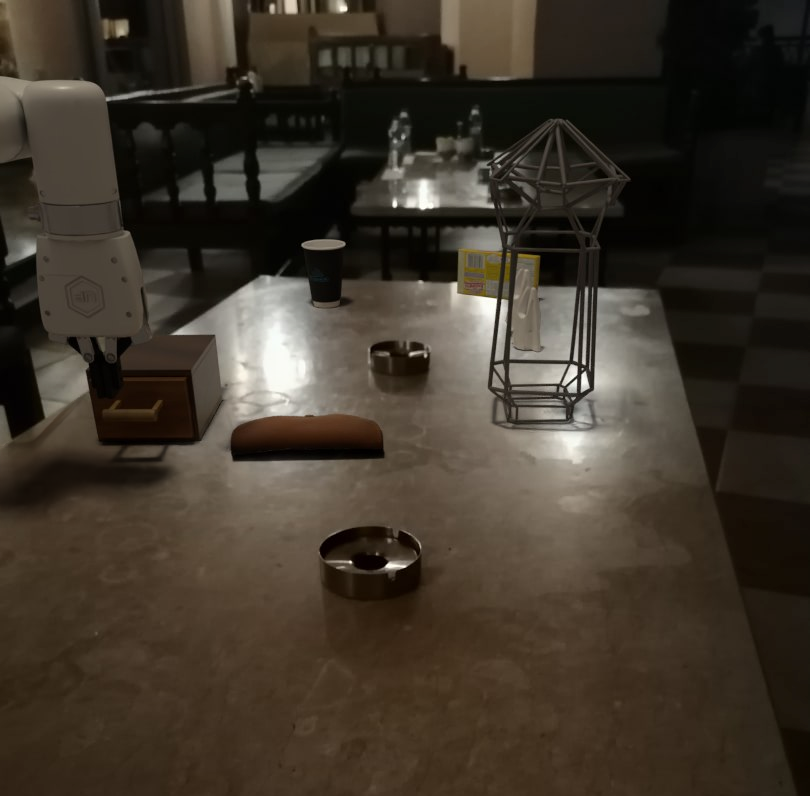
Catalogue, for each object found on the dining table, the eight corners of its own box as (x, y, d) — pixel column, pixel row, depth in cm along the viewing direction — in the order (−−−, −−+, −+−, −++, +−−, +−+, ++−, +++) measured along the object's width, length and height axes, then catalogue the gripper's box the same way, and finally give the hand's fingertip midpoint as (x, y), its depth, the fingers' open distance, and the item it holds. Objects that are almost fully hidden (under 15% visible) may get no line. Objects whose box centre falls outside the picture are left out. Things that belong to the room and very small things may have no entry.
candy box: (538, 300, 169) (541, 255, 165) (534, 303, 168) (536, 257, 164) (461, 290, 177) (462, 247, 173) (456, 293, 175) (457, 249, 171)
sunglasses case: (383, 426, 114) (382, 391, 108) (384, 472, 110) (384, 439, 104) (239, 429, 113) (230, 395, 107) (236, 476, 110) (227, 443, 104)
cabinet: (200, 440, 111) (191, 369, 107) (98, 441, 112) (85, 370, 107) (222, 399, 124) (215, 334, 120) (131, 400, 124) (120, 335, 120)
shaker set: (504, 331, 152) (506, 263, 147) (528, 330, 152) (532, 263, 147) (515, 352, 142) (518, 280, 136) (542, 351, 142) (546, 280, 136)
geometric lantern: (479, 390, 126) (488, 114, 109) (593, 392, 125) (620, 113, 108) (478, 433, 113) (487, 124, 96) (606, 436, 111) (638, 124, 94)
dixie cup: (343, 298, 173) (341, 238, 167) (351, 308, 166) (349, 246, 161) (302, 300, 171) (298, 240, 166) (308, 311, 164) (304, 249, 159)
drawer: (183, 454, 106) (174, 394, 102) (86, 454, 106) (74, 394, 102) (214, 399, 122) (208, 346, 118) (130, 399, 122) (121, 346, 118)
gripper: (-8, 224, 87) (28, 405, 96) (148, 227, 87) (169, 408, 96) (22, 211, 93) (53, 382, 102) (166, 214, 93) (185, 384, 102)
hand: (109, 394), depth 99 cm, fingers closed
